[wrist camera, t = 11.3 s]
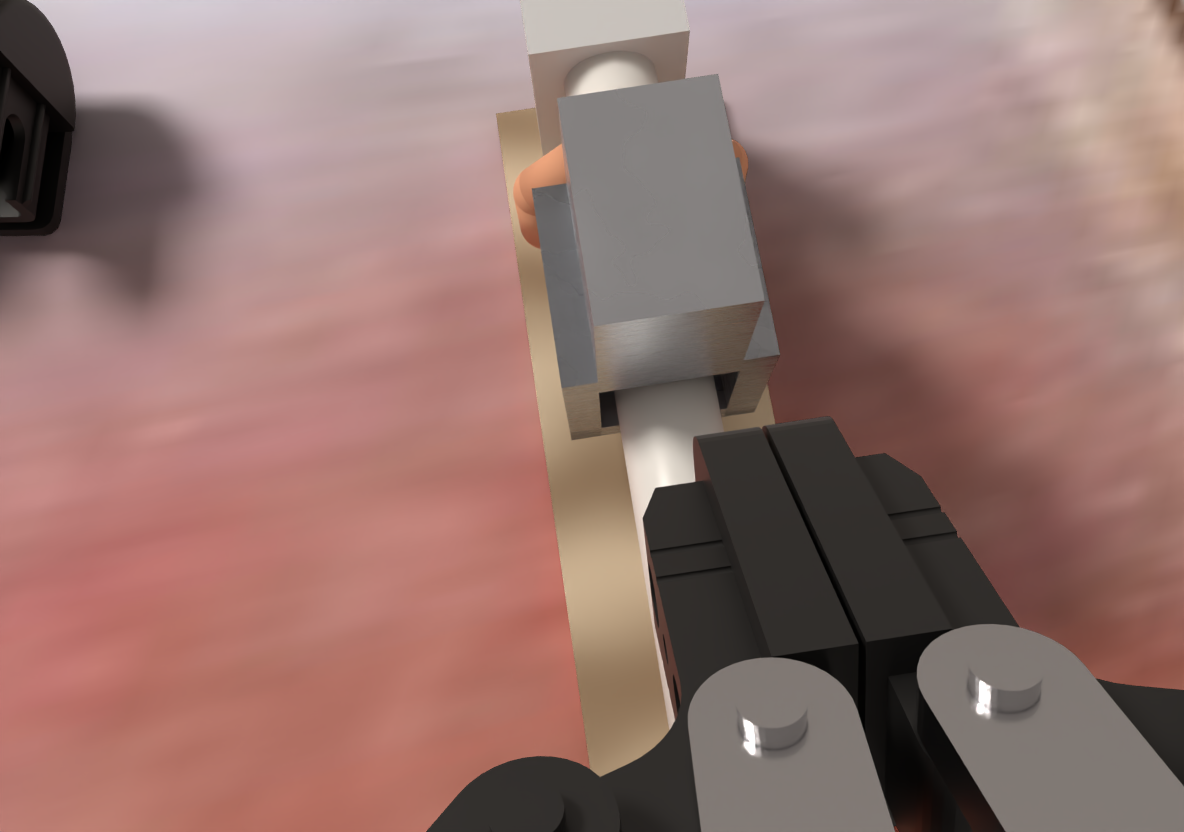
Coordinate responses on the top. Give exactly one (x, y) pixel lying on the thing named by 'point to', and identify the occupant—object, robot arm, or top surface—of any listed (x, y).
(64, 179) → the end cap
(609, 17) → the rod
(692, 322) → the grooved slider block
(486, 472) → the top surface
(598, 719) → the base board
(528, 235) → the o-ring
